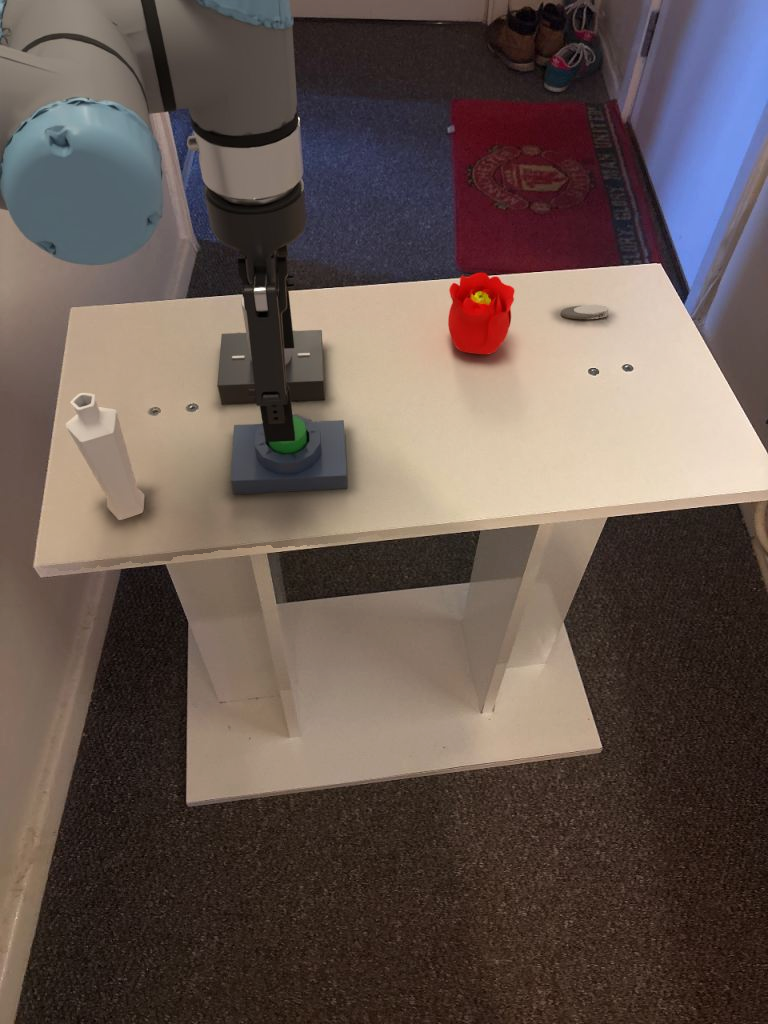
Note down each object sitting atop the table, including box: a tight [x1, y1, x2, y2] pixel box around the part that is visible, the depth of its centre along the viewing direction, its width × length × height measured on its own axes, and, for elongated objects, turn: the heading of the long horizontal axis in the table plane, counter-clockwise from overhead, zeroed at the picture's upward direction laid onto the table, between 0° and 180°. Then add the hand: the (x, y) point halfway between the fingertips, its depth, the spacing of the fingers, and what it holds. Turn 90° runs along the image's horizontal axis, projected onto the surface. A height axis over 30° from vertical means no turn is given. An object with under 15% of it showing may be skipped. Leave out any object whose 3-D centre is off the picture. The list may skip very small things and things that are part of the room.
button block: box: [230, 414, 348, 495], centre depth 80 cm, size 12×8×4 cm, turn 94°
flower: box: [447, 272, 515, 355], centre depth 91 cm, size 8×8×8 cm
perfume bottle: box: [65, 392, 146, 521], centre depth 72 cm, size 5×4×15 cm
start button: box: [269, 416, 307, 454], centre depth 78 cm, size 4×4×2 cm
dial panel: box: [217, 329, 326, 405], centre depth 89 cm, size 12×9×3 cm
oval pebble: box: [560, 304, 610, 320], centre depth 98 cm, size 6×2×1 cm, turn 87°
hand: (280, 390), depth 74 cm, fingers open, 12 cm apart
